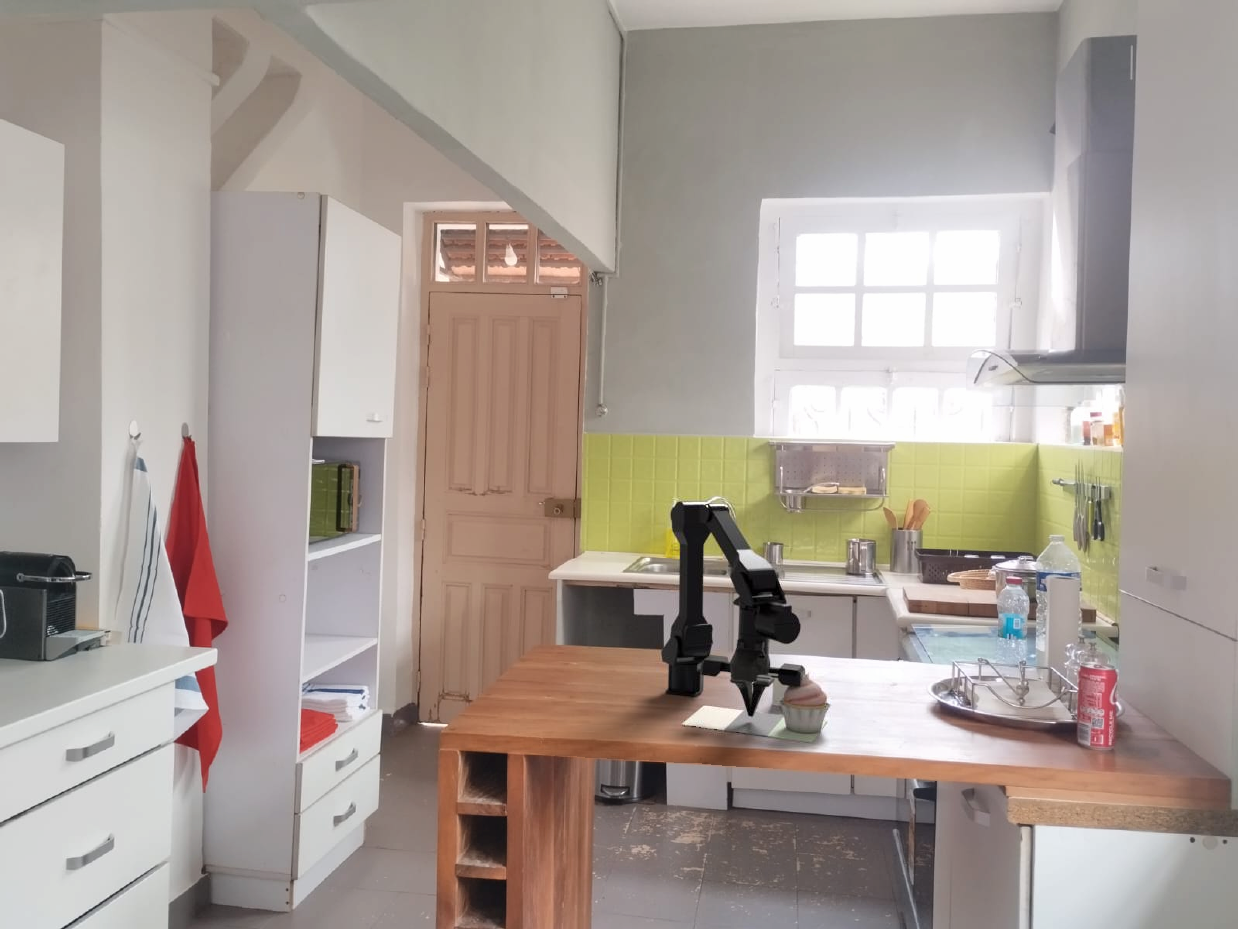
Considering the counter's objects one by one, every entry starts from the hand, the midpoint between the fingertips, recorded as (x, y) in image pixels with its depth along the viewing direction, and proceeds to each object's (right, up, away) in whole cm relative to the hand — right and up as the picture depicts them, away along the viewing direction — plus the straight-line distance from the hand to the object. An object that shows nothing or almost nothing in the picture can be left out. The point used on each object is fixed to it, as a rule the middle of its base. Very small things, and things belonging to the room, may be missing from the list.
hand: (751, 716), depth 181 cm
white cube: (+10, -1, +14) cm, 17 cm away
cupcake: (+9, -2, -4) cm, 10 cm away
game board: (+1, -1, -1) cm, 2 cm away
